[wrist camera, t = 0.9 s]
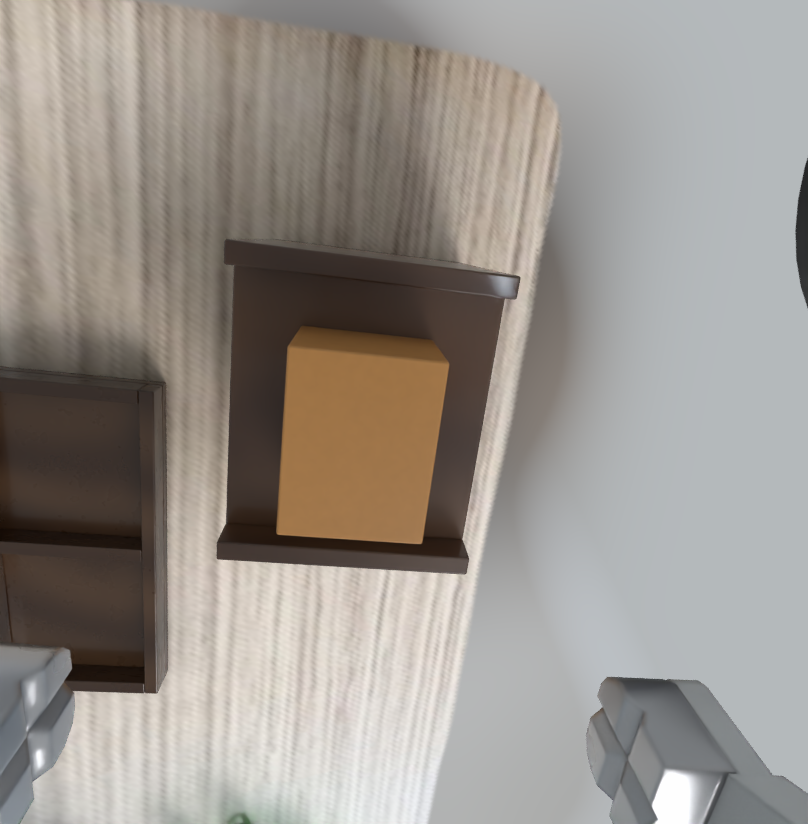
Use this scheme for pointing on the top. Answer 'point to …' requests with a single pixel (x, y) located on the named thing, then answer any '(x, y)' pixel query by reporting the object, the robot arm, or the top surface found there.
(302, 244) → the cubby
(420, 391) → the cardboard-colored box
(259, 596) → the top surface
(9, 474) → the shelf
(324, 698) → the top surface
